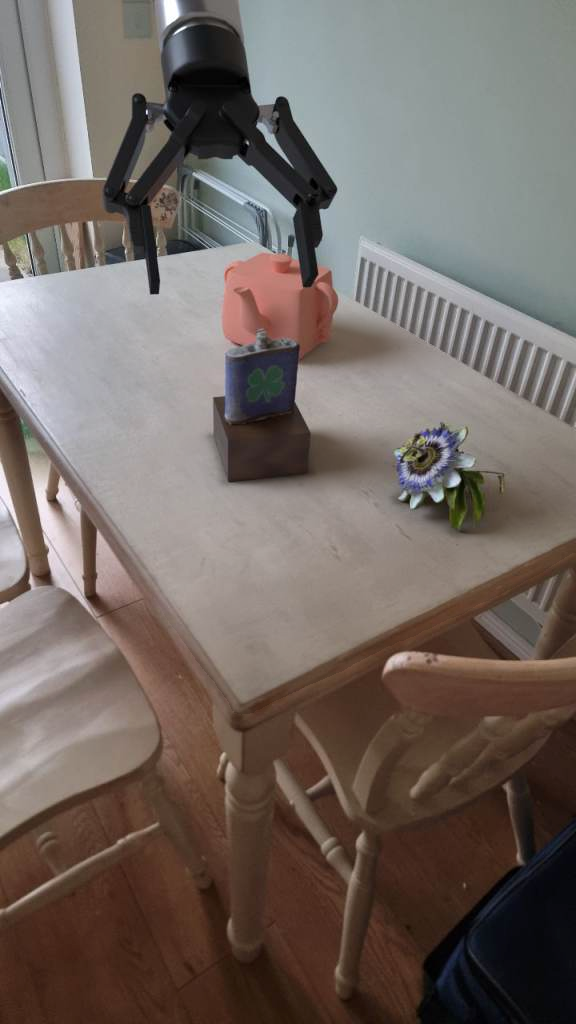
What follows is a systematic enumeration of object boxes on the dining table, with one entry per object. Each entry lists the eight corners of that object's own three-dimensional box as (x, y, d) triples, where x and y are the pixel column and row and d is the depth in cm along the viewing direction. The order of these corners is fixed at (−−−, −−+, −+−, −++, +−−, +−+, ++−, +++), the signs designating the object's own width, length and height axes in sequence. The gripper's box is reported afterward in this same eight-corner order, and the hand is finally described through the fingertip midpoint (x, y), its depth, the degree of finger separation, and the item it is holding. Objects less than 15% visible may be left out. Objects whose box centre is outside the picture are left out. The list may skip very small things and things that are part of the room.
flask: (229, 427, 82) (230, 343, 75) (220, 415, 84) (219, 332, 77) (298, 412, 85) (305, 330, 79) (287, 401, 87) (293, 320, 81)
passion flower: (398, 534, 86) (370, 442, 84) (474, 505, 88) (448, 414, 86) (440, 547, 75) (408, 441, 73) (525, 512, 77) (497, 409, 75)
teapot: (181, 353, 108) (176, 266, 100) (246, 311, 122) (247, 231, 113) (292, 390, 101) (299, 299, 93) (349, 341, 115) (359, 258, 106)
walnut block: (227, 482, 84) (227, 440, 80) (213, 436, 91) (212, 396, 87) (307, 473, 86) (311, 432, 82) (287, 429, 93) (289, 390, 89)
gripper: (325, 85, 68) (357, 295, 66) (59, 79, 62) (88, 308, 60) (349, 25, 60) (385, 259, 59) (50, 11, 55) (81, 270, 53)
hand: (234, 284), depth 60 cm, fingers open, 13 cm apart
